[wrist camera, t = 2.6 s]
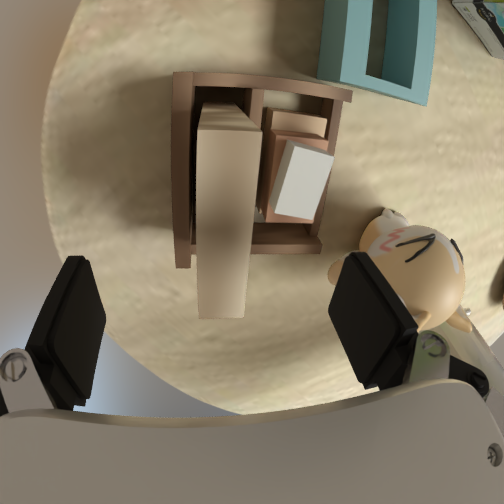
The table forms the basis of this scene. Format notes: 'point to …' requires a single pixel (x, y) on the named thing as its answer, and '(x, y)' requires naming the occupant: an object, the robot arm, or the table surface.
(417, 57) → the stand
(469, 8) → the tea box
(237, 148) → the wooden board
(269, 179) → the offcut
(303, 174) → the offcut
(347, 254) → the kitten
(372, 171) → the table surface
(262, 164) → the offcut
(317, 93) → the rack
